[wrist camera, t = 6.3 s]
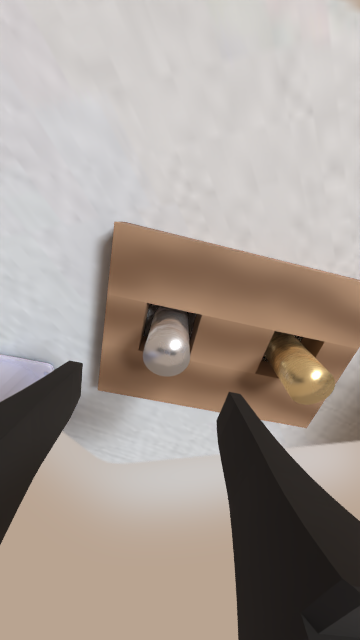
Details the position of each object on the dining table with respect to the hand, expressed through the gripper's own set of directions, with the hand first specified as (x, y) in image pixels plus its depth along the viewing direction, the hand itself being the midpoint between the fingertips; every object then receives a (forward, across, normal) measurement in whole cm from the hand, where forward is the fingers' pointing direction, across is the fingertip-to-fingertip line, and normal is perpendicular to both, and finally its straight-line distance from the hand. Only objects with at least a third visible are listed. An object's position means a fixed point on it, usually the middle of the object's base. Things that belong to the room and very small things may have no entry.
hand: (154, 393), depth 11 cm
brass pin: (+9, -10, 0) cm, 14 cm away
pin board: (+9, -5, 0) cm, 11 cm away
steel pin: (+9, 0, 0) cm, 9 cm away
